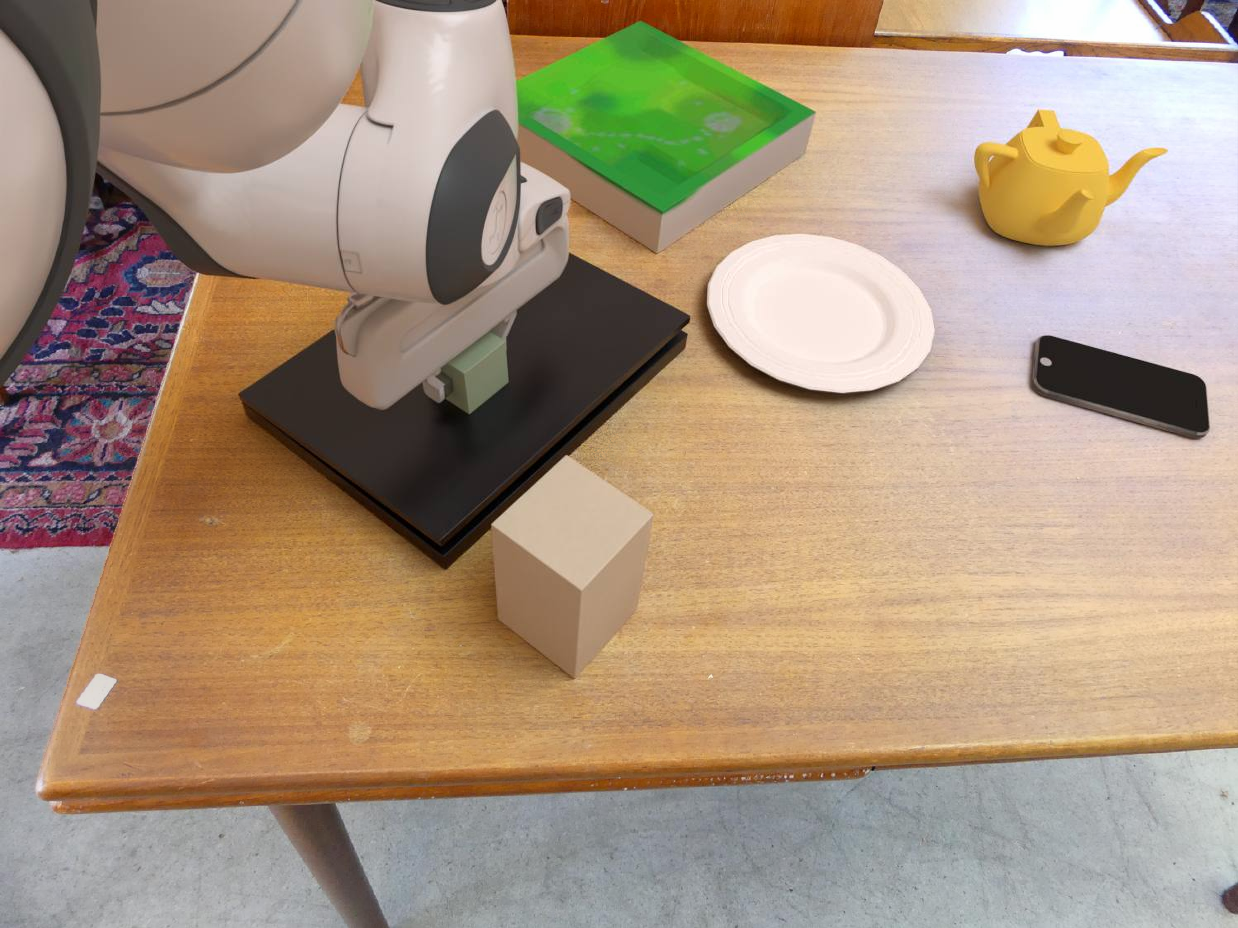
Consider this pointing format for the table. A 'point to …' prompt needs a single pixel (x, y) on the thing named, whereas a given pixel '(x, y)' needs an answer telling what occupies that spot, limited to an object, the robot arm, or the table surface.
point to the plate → (820, 313)
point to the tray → (655, 132)
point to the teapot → (1050, 182)
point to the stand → (570, 563)
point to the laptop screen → (500, 427)
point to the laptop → (515, 490)
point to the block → (477, 372)
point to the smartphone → (1121, 386)
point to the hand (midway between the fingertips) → (466, 372)
